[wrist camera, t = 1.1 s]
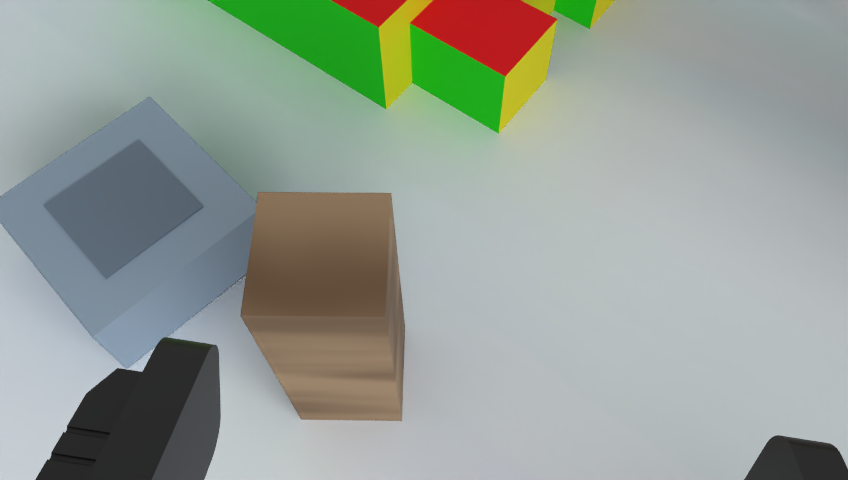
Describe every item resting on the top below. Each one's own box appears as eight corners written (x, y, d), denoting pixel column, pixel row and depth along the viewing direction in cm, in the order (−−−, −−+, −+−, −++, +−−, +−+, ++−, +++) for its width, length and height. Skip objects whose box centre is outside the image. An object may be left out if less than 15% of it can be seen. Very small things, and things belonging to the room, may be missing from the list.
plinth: (174, 143, 42) (148, 95, 38) (277, 248, 38) (261, 206, 35) (27, 246, 39) (-15, 204, 35) (126, 368, 36) (91, 336, 32)
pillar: (310, 325, 36) (257, 192, 26) (404, 326, 36) (391, 193, 26) (301, 419, 34) (240, 315, 24) (402, 420, 34) (385, 317, 24)
